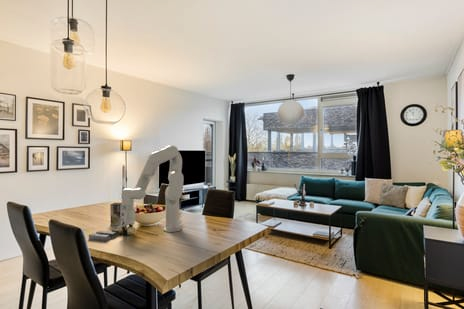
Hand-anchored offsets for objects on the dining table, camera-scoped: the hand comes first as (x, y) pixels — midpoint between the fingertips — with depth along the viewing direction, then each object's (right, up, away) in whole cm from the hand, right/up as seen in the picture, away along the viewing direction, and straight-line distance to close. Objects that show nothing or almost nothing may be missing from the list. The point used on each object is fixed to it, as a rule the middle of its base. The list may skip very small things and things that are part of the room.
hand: (127, 233), depth 173 cm
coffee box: (-17, 0, +23) cm, 29 cm away
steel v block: (-13, -1, -8) cm, 15 cm away
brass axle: (-2, -1, +1) cm, 2 cm away
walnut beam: (-6, 0, +2) cm, 6 cm away
